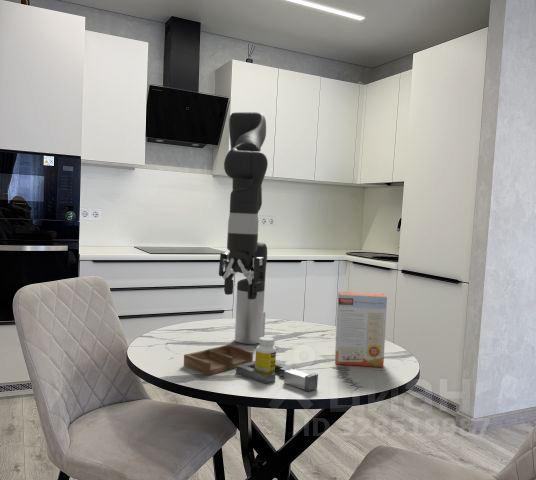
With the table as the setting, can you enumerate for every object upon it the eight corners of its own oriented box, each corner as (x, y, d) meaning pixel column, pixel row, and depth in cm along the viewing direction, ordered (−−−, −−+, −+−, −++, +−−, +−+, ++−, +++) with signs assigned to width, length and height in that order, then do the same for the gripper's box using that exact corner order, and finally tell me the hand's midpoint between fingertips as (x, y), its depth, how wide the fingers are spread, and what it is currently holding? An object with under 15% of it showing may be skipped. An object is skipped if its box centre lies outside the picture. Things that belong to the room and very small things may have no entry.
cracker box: (381, 362, 151) (385, 293, 150) (383, 368, 146) (387, 296, 144) (334, 358, 153) (338, 290, 152) (334, 364, 147) (338, 293, 146)
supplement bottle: (272, 378, 132) (274, 341, 131) (252, 376, 133) (254, 339, 132) (276, 372, 137) (278, 336, 137) (257, 370, 138) (258, 335, 138)
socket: (263, 365, 143) (264, 358, 143) (293, 375, 136) (293, 367, 135) (235, 373, 135) (236, 365, 135) (265, 384, 127) (266, 376, 127)
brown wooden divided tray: (228, 355, 151) (229, 344, 151) (252, 362, 145) (253, 352, 144) (183, 366, 139) (184, 354, 139) (207, 375, 132) (207, 363, 132)
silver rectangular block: (291, 379, 131) (292, 366, 131) (317, 388, 126) (317, 374, 125) (282, 382, 128) (283, 368, 128) (308, 391, 123) (309, 377, 123)
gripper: (274, 233, 122) (270, 299, 123) (235, 230, 132) (232, 291, 133) (251, 233, 117) (248, 302, 118) (212, 230, 127) (210, 293, 128)
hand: (239, 296), depth 125 cm, fingers open, 8 cm apart
